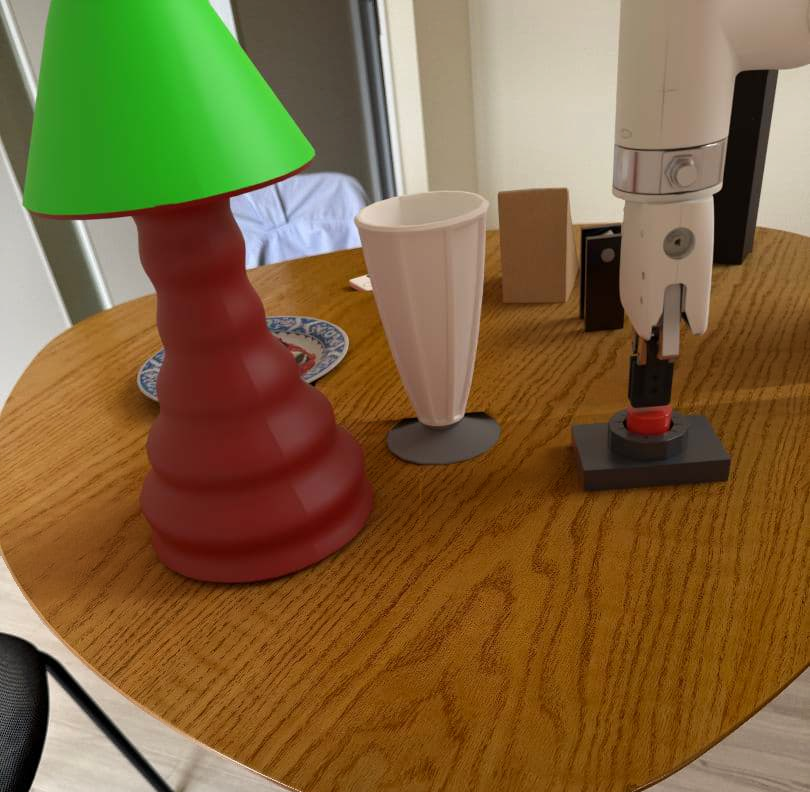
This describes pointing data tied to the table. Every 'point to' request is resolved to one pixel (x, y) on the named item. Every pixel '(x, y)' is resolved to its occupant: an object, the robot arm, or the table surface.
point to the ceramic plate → (303, 336)
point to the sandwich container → (536, 245)
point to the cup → (431, 316)
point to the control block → (648, 454)
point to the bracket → (600, 278)
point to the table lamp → (197, 279)
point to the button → (649, 420)
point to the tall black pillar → (743, 166)
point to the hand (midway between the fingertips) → (648, 402)
